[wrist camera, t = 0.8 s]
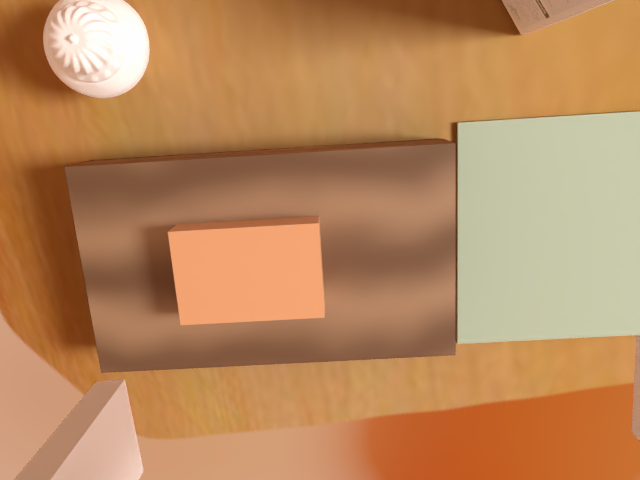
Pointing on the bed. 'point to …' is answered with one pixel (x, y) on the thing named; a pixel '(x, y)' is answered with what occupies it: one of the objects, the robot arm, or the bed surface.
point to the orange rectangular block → (248, 270)
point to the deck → (273, 203)
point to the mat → (548, 228)
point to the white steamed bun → (96, 46)
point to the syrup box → (546, 12)
